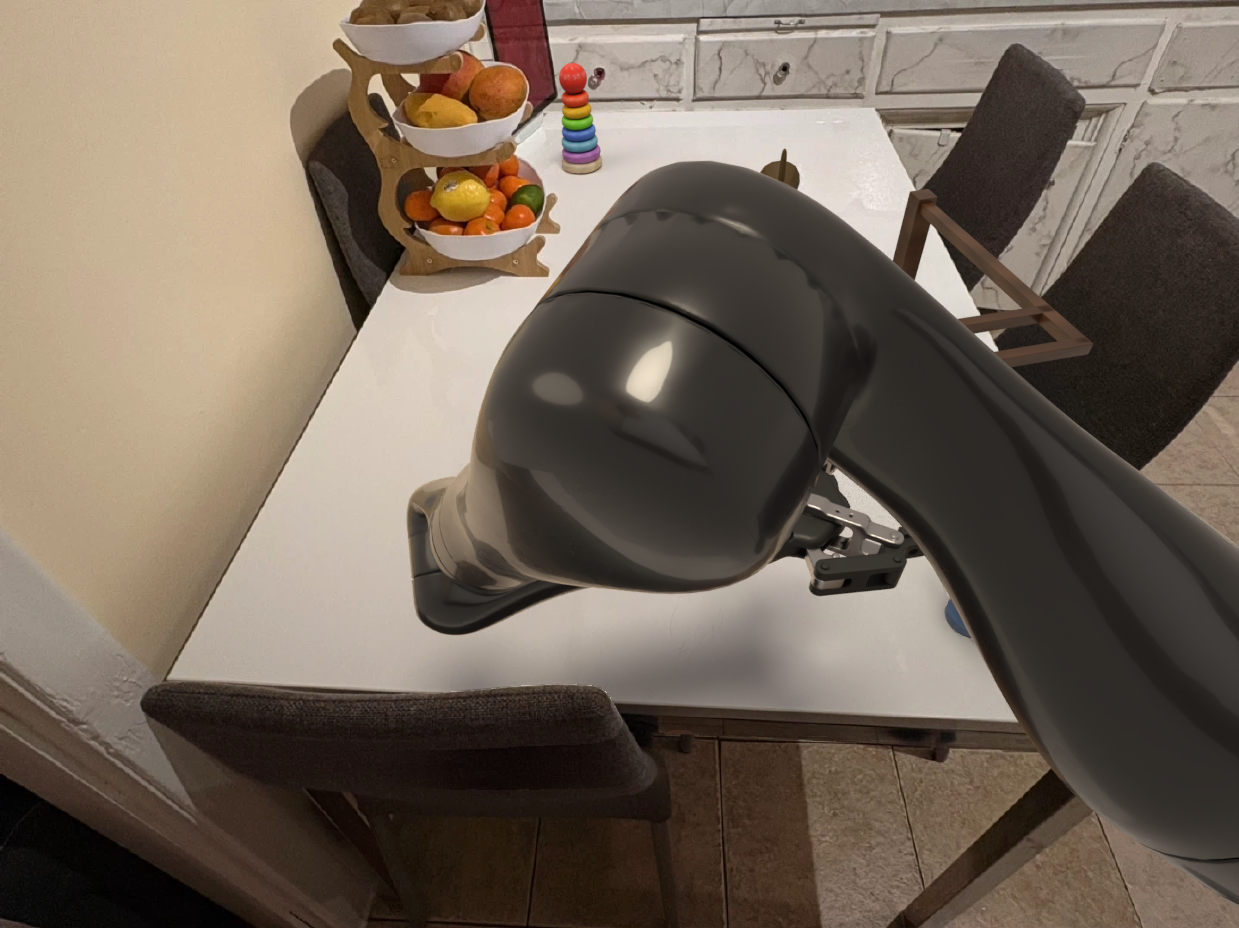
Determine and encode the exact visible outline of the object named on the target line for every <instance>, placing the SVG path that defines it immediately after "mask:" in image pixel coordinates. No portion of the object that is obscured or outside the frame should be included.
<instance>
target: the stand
mask: <svg viewBox="0 0 1239 928" xmlns="http://www.w3.org/2000/svg"><path fill="white" fill-rule="evenodd" d="M938 199H939V197H938V196H937V195H936V194H935V193H934V192H933V191H931V190H930V189H929V188H925V189H917V190H911V191H909V194H908V197H907V201H906V205H905V210H904V213H903V218H902V221H901V226H900V230H899V233H898V238H897V242H896V246H895V249H894V253H893V258H892V261H893V262H895V263H896V264H897V265H898V266H899V267H900V268H901V269H902V270H903V271H905V272H906V273H907V274H908V275H909V276H910V277H911V278H912V279H913V280H915V281H916V278H917V275H918V270H919V268H920V264H921V259H922V256H923V253H924V250H925V249H924V248H925V245H926V241H927V238H928V235H929V231H930V227H933V228H934V229H936V231H938V232H939V233H940V234H941V235H942V236H943V237H944V238H945V239H946V240H947V241H948V242H950V243H951V245H953V246H954V247H955V248H956V249H957V250H958V251H959V252H960V253H961V254H962V255H963V256H965V257H966V258H967V259H968V260H969V261H970V262H971V263H972V264H973V265H974V266H976V267H977V269H979V270H980V271H981V272H982V273H983V274H984V275H985V276H986V277H987V278H988V279H990V280H991V282H993V284H994V285H996V286H997V287H998V288H999V289H1001V291H1003V293H1005V294H1006V296H1008V297H1009V298H1010V299H1011V300H1012V301H1013V302H1014V303H1016V305H1018V306H1019V307H1020V308H1016V309H1010V310H1005V311H998V312H991V313H986V314H980V315H979V314H978V315H972V316H967V317H960V318H957V319H958V320H959V321H960V322H961V323H963V324H964V325H965V326H966V327H967V328H968V329H969V330H970V331H971V332H973V333H974V334H975V335H976V334H980V333H988V332H994V331H999V330H1005V329H1012V328H1019V327H1025V326H1030V325H1031V326H1032V325H1037V324H1038V325H1039V326H1040V327H1042V328H1043V329H1044V330H1045V331H1046V332H1047V333H1048V334H1049V335H1050V336H1051V337H1052V338H1053V339H1055V340H1056V341H1051V342H1044V343H1040V344H1034V345H1033V344H1032V345H1027V346H1021V347H1015V348H1009V349H1002V350H997V351H994V352H995V353H996V354H997V355H998V356H999V357H1000V358H1001V359H1003V360H1004V361H1005V362H1006V363H1007V364H1008V365H1009V366H1010V367H1011V368H1015V367H1022V366H1027V365H1032V364H1038V363H1045V362H1050V361H1051V362H1052V361H1057V360H1062V359H1068V358H1074V357H1081V356H1086V355H1087V356H1088V355H1089V354H1090V352H1091V349H1092V347H1093V346H1094V343H1093V342H1092V341H1091V340H1090V339H1088V337H1086V336H1085V335H1084V334H1083V333H1082V332H1081V331H1080V330H1079V329H1077V328H1076V327H1075V326H1074V325H1073V324H1071V323H1070V321H1068V320H1067V319H1066V318H1065V317H1064V316H1063V315H1061V314H1060V313H1059V312H1057V310H1055V308H1053V307H1052V306H1051V305H1050V304H1049V303H1047V302H1046V301H1045V300H1044V299H1043V298H1042V297H1041V296H1040V295H1039V294H1038V293H1036V292H1035V291H1034V290H1033V289H1032V288H1030V287H1029V286H1028V285H1027V283H1025V282H1024V281H1023V280H1022V279H1021V278H1019V277H1018V276H1017V275H1016V274H1015V273H1013V271H1011V270H1010V269H1009V268H1008V267H1007V266H1006V265H1004V264H1003V263H1002V262H1001V261H1000V260H999V259H998V258H997V257H995V256H994V255H993V254H992V253H991V252H990V251H989V250H987V249H986V248H985V247H984V246H983V245H982V244H981V243H979V241H977V240H976V239H975V238H973V237H972V236H971V235H970V234H969V233H968V232H967V231H966V230H965V229H963V227H961V226H960V225H959V224H958V223H957V222H956V221H954V220H953V219H952V218H951V217H950V216H949V215H948V214H947V213H945V211H943V210H941V208H940V207H938V206H937V202H938Z"/></svg>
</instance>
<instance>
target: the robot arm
mask: <svg viewBox="0 0 1239 928" xmlns="http://www.w3.org/2000/svg"><path fill="white" fill-rule="evenodd" d="M958 319H959V318H957V317H956V316H955V315H954V314H953V313H951V312H950V310H948V309H947V308H946V307H945V306H944V305H943V304H941V303H940V302H939V301H938V300H937V299H936V298H935V297H934V296H933V295H932V294H930V292H928V291H927V290H926V289H925V288H924V287H922V285H920V284H919V283H918V281H916V279H915V280H913V279H912V278H911V277H910V276H909V275H908V274H907V273H906V272H905V271H903V270H902V269H901V268H900V267H899V266H898V265H897V264H896V263H895V262H893V259H891V258H890V257H889V256H888V255H886V254H885V252H883V251H882V250H881V249H879V248H878V247H877V246H876V245H875V244H874V243H872V242H871V241H870V240H868V239H867V238H866V237H865V236H864V235H862V234H861V233H860V232H859V231H857V230H856V229H855V228H854V227H853V226H851V225H850V224H849V223H847V222H846V221H845V220H844V219H843V218H842V217H840V216H839V215H837V214H836V213H834V212H833V211H832V210H830V209H829V208H827V207H826V206H825V205H824V204H821V203H820V202H819V201H817V200H815V199H813V198H812V197H810V196H809V195H807V194H806V193H804V192H802V191H801V190H797V189H795V188H793V187H791V186H789V185H788V184H785V183H783V182H781V181H778V180H776V179H774V178H771V177H769V176H766V175H764V174H762V173H760V172H759V171H757V170H754V169H751V168H749V167H745V166H740V165H735V164H731V163H726V162H721V161H716V160H686V161H685V160H684V161H675V162H672V163H669V164H667V165H663V166H660V167H658V168H655V169H652V170H651V171H649V172H647V173H644V174H643V175H642V176H641V177H639V178H638V179H637V180H636V181H635V182H634V183H632V184H631V185H630V186H629V187H628V188H627V189H626V190H625V191H624V192H623V193H622V194H621V195H620V196H619V197H618V198H617V200H615V202H614V203H613V205H611V207H609V209H608V210H607V212H606V213H605V214H604V215H603V217H602V218H601V219H600V221H598V223H597V224H596V226H595V227H594V228H593V230H592V231H591V232H590V234H589V235H588V236H587V237H586V239H585V240H584V241H583V243H582V244H581V246H580V247H579V248H578V250H577V251H576V253H574V255H573V257H571V259H570V260H569V261H568V262H567V264H566V266H565V267H564V268H563V269H562V271H561V272H560V273H559V274H558V275H557V277H556V278H555V280H554V281H553V282H552V283H551V284H550V286H549V288H548V289H547V290H546V291H545V293H544V294H543V296H542V297H541V298H540V299H539V301H538V302H537V304H536V305H535V306H534V308H533V309H532V310H531V312H530V313H529V314H528V315H527V316H526V317H525V319H524V320H523V321H522V322H521V324H520V325H519V326H518V327H517V329H516V331H514V333H513V335H512V336H511V337H510V339H509V340H508V342H507V343H506V345H505V346H504V349H503V350H502V352H501V354H500V357H499V358H498V361H497V362H496V364H495V366H494V369H493V371H492V373H491V376H490V377H489V381H488V383H487V387H486V390H485V392H484V396H483V399H482V402H481V405H480V408H479V411H478V416H477V419H476V423H475V427H474V432H473V437H472V442H471V443H472V444H471V448H470V451H471V452H470V460H469V462H468V463H467V464H466V465H465V466H464V467H463V468H462V469H461V470H460V471H459V472H458V474H456V475H454V476H446V477H441V478H437V479H434V480H430V481H428V482H426V483H423V484H422V485H420V486H419V487H418V488H416V489H415V490H414V491H413V492H412V493H411V495H410V497H409V499H408V503H407V505H406V506H407V508H406V532H407V533H406V534H407V541H408V554H409V563H410V566H409V567H410V575H411V579H412V580H411V587H412V589H411V590H412V599H413V600H412V601H413V606H414V610H415V614H416V617H417V619H418V620H419V621H420V622H421V624H423V625H424V627H426V628H428V629H429V630H431V631H433V632H435V633H438V634H442V635H446V636H465V635H471V634H474V633H478V632H480V631H483V630H486V629H488V628H491V627H493V626H495V625H497V624H500V623H501V622H504V621H506V620H508V619H510V618H513V617H515V616H516V615H518V614H521V613H523V612H524V611H527V610H529V609H531V608H533V607H536V606H537V605H540V604H544V603H546V602H548V601H550V600H553V599H556V598H558V597H561V596H565V595H568V594H572V593H575V592H579V591H583V590H586V589H587V590H588V589H604V590H605V589H606V590H613V591H623V592H632V593H642V594H653V595H683V594H686V595H687V594H688V595H689V594H696V593H697V594H698V593H703V592H705V593H706V592H710V591H716V590H719V589H723V588H727V587H730V586H733V585H735V584H738V583H740V582H743V581H745V580H748V579H749V578H751V577H753V576H755V575H756V574H758V573H759V572H761V571H762V570H763V569H764V568H765V567H766V566H768V565H770V564H771V565H772V564H773V563H775V562H777V561H779V560H782V559H784V558H798V559H800V560H804V561H805V563H806V566H807V568H808V569H807V570H808V572H809V575H810V581H809V585H808V590H809V592H810V593H811V594H812V595H813V596H816V597H826V596H835V595H837V596H838V595H846V594H855V593H864V592H865V593H866V592H875V591H885V590H893V589H895V588H897V586H898V584H899V581H900V579H901V577H902V575H903V572H904V570H905V569H906V566H907V564H908V559H915V558H921V557H922V558H923V557H925V558H926V560H927V561H928V563H929V564H930V565H931V567H932V569H933V570H934V572H935V574H936V576H937V577H938V579H939V581H940V583H941V584H942V586H943V587H944V589H945V591H946V594H947V595H948V597H949V599H950V598H951V600H952V602H953V604H954V606H955V608H956V610H957V611H958V613H959V615H960V617H961V619H962V621H963V623H964V625H965V627H966V629H967V630H968V632H969V634H970V636H971V637H970V638H971V641H973V644H974V646H975V647H976V649H977V651H978V653H979V655H980V657H981V658H982V660H983V662H984V664H985V667H987V669H988V671H989V673H990V675H991V677H992V678H993V680H994V682H995V684H996V686H997V687H998V690H999V691H1000V693H1001V695H1002V696H1003V698H1004V700H1005V702H1006V704H1007V706H1008V707H1009V708H1010V710H1011V713H1012V714H1013V715H1014V718H1015V719H1016V721H1017V722H1018V724H1019V726H1020V727H1021V729H1022V730H1023V733H1024V734H1025V735H1026V737H1027V738H1028V739H1029V741H1030V742H1031V744H1032V745H1033V747H1034V748H1035V749H1036V751H1037V752H1038V753H1039V755H1040V756H1041V758H1042V759H1043V760H1044V761H1045V763H1046V764H1047V766H1048V767H1049V768H1050V769H1051V770H1052V772H1054V774H1055V775H1056V776H1057V777H1058V779H1059V780H1060V781H1061V782H1062V783H1063V785H1064V786H1065V787H1066V788H1067V789H1068V790H1069V791H1070V792H1071V793H1072V794H1073V795H1074V796H1075V797H1076V798H1077V799H1078V800H1080V801H1081V803H1083V804H1084V805H1086V807H1089V809H1090V810H1091V811H1092V812H1094V813H1095V814H1097V815H1098V817H1100V818H1101V819H1103V820H1104V821H1105V822H1107V823H1108V824H1110V826H1112V827H1114V828H1116V830H1118V831H1120V832H1121V833H1122V834H1124V835H1126V836H1127V837H1129V838H1130V839H1132V840H1134V841H1136V842H1137V843H1138V844H1140V845H1142V846H1143V847H1144V848H1146V849H1147V850H1149V851H1151V852H1152V853H1154V854H1156V855H1157V856H1158V857H1160V858H1162V859H1163V860H1164V861H1166V862H1167V863H1169V864H1170V865H1172V866H1174V867H1175V868H1177V869H1178V870H1179V871H1181V872H1183V873H1184V874H1186V875H1188V876H1189V877H1190V878H1192V879H1193V880H1195V881H1197V883H1200V884H1201V885H1202V886H1203V887H1205V888H1207V889H1208V890H1210V891H1211V892H1213V893H1215V894H1216V895H1218V896H1219V897H1221V898H1222V899H1224V900H1226V901H1227V902H1229V903H1231V904H1232V905H1234V906H1236V907H1237V908H1239V544H1237V543H1235V542H1234V540H1232V539H1230V538H1229V537H1228V536H1226V535H1225V534H1223V533H1222V532H1221V531H1219V530H1218V529H1217V528H1215V527H1214V526H1213V525H1211V524H1210V523H1209V522H1207V520H1205V519H1204V518H1202V517H1201V516H1200V515H1198V514H1197V513H1195V512H1194V511H1193V510H1192V509H1190V508H1189V507H1187V505H1185V504H1184V503H1182V502H1181V501H1180V500H1179V499H1177V498H1176V497H1174V496H1173V495H1172V494H1171V493H1169V492H1168V491H1166V490H1165V489H1164V488H1162V487H1161V486H1160V485H1159V484H1157V483H1156V482H1155V481H1154V480H1152V479H1151V478H1149V477H1148V476H1147V475H1146V474H1144V473H1143V472H1141V471H1140V470H1139V469H1138V468H1136V467H1134V466H1133V465H1132V464H1130V463H1129V462H1128V461H1126V460H1125V459H1124V458H1122V457H1121V456H1120V455H1118V454H1117V453H1116V452H1114V451H1113V450H1112V449H1110V448H1109V447H1108V446H1106V445H1105V444H1104V443H1103V442H1101V441H1100V440H1099V439H1098V438H1096V437H1095V436H1094V435H1092V434H1091V433H1089V432H1088V431H1087V430H1086V429H1084V428H1083V427H1081V426H1080V425H1079V424H1078V423H1076V421H1074V420H1073V419H1072V418H1071V417H1070V416H1068V415H1067V414H1066V413H1065V412H1063V411H1062V410H1061V409H1060V408H1059V407H1058V406H1056V405H1055V404H1054V403H1053V402H1052V401H1050V399H1048V398H1047V397H1046V396H1044V395H1043V394H1042V393H1041V392H1040V391H1039V390H1038V389H1036V387H1035V386H1034V385H1032V384H1031V383H1030V382H1029V381H1027V379H1025V377H1023V376H1022V375H1021V374H1020V373H1018V372H1017V371H1016V370H1015V369H1014V367H1010V366H1009V365H1008V364H1007V363H1006V362H1005V361H1004V360H1003V359H1001V358H1000V357H999V356H998V355H997V354H996V353H995V352H996V351H994V350H992V348H990V346H988V345H987V344H986V343H985V342H984V341H983V340H982V339H980V337H978V336H977V335H976V333H975V334H974V333H973V332H971V331H970V330H969V329H968V328H967V327H966V326H965V325H964V324H963V323H961V322H960V321H959V320H958ZM837 470H838V471H839V472H841V473H842V474H843V475H844V476H845V477H847V478H848V479H849V480H851V481H852V482H853V483H854V484H856V486H858V487H859V488H860V489H862V490H863V491H864V492H865V493H866V494H867V495H868V496H870V497H871V498H872V499H873V500H875V502H877V503H878V504H879V505H880V506H881V507H882V508H883V509H884V510H885V511H886V512H887V513H888V514H889V515H890V516H891V517H892V518H893V519H894V520H895V521H896V522H897V523H898V524H899V525H900V526H898V529H894V528H892V527H888V526H886V525H883V524H880V523H877V522H875V521H872V518H871V517H870V516H869V515H868V514H867V513H864V512H861V511H858V510H855V509H852V508H851V507H852V506H851V504H850V503H849V501H848V499H847V498H846V496H845V495H844V494H843V493H842V492H841V490H840V488H839V482H838V480H837V478H836V476H835V474H834V473H835V472H836V471H837ZM846 528H848V529H850V531H851V532H852V534H851V535H852V536H850V537H847V536H846V537H845V536H842V533H843V532H844V530H845V529H846ZM872 541H873V542H872ZM825 550H827V551H830V552H832V553H831V554H828V553H825Z"/></svg>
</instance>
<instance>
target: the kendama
mask: <svg viewBox="0 0 1239 928" xmlns="http://www.w3.org/2000/svg"><path fill="white" fill-rule="evenodd" d="M759 173H762V174H764V175H766V176H769V177H771V178H774V179H776V180H778V181H781V182H783V183H785V184H788V185H789V186H791V187H793V188H795V189H797V190H798V189H799V187H800V183H801V177H800V176H801V175H800V172H799V170H798V167H797V166H796V165H795V164H794V163H792V162H790V161H788V151H787V149H786V148H783V149H782V151H781V155H780V160H775V161H771V162H769V163H768V164H766V165H764V166H763V167H762V169H761V170H760V172H759ZM798 191H799V190H798Z"/></svg>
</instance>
